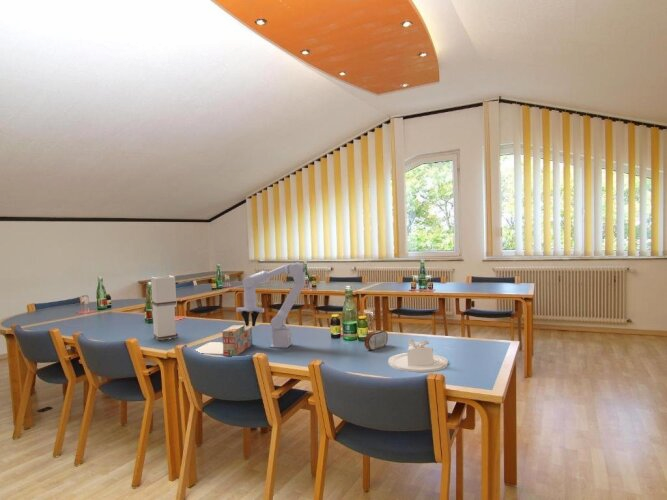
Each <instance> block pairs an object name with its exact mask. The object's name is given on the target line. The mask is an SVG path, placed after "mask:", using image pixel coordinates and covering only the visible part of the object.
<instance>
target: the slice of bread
mask: <svg viewBox="0 0 667 500" xmlns="http://www.w3.org/2000/svg"><path fill="white" fill-rule="evenodd" d="M388 339H389V337H388V333H387V331H385V330H383V329H377V330H375V331H371V332H368V333H367V335H366V336H365V339H364V348H365V349H367V350H368V351H375V350H378V349H382V348H384V347H385V346H386V345H387V343H388Z"/></svg>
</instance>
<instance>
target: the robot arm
mask: <svg viewBox="0 0 667 500" xmlns="http://www.w3.org/2000/svg"><path fill="white" fill-rule="evenodd" d="M281 274H290V276H292V278H293V281H294V285H293V287H292V288H291V290H290V291H289V293H288V295H287V296H286V298H285V299H284V302H283V304H282V306H281V307H280V309H279V310H278V312H277V313H276V315H275V316H274V317H273V318H272V319H270V326H271V342H272V343H271V345H270V346H269V348H288V347H290V346H291V345H292V344H293V343H292V330H291V329H290V328H287V326H286V325H285V324H286V322H287V318H288V315H289V312H290V311H291V309H292V308H293V306H294V304H295V302H296V301H297V299H298V298H299V295H300V294H301V292H302V290H303V288H304V286H305V285H306V269H305V267H304V264H303V263H302V262H299V261H297V262H294V263H288V264H284V265H282V266H279V267H277V268H274V269H272V270H269V271H266V270H259V272H257V273H252V274H250V275H249V276H246V277H244V279H243V280H242V286H243V288H244V290H243V294H244V295H243V300H244V301H243V302H244V307H243V306H242V307H236V308H235V310H236V311H235V312H237V313H239V312H240V314H241V316H242V318H243V320H244V323H245V327H248V326H249V327H250V316H251V327H255V326H256V323H257V320H258V319H257V318H258V317H259V314H261V313H265V307H257V303H256V300H257V298H256V297H257V296H256V294H257V293H256V286H258V285H262V284H263V283H266V282H269V280H270V279H271V278H273V277H275V276H278V275H281Z"/></svg>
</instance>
